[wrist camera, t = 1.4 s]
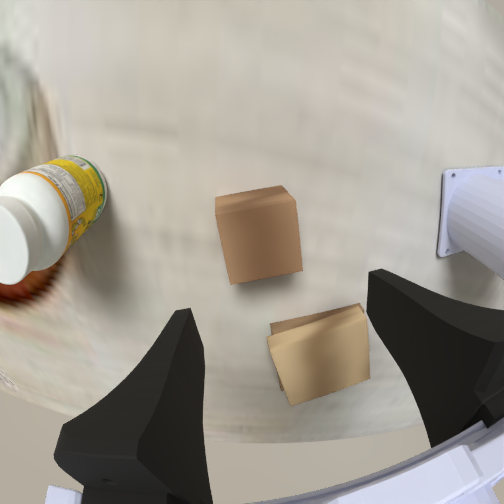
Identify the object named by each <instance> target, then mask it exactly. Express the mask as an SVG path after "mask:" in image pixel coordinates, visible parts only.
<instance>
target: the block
mask: <svg viewBox="0 0 504 504" xmlns="http://www.w3.org/2000/svg"><path fill="white" fill-rule="evenodd" d="M215 216H216V221H217V225H218V230H219V235H220V239H221V244H222V249H223V253H224V258H225V262H226V267H227V271H228V276H229V280H230V285H232V284H238V283H243V282H248V281H253V280H259V279H264V278H269V277H274V276H279V275H284V274H289V273H294V272H299V271H303V268H302V257H301V246H300V236H299V226H298V217H297V208H296V200H295V199H294V198H293V197H292V196H291V195H290V194H289V193H288V192H287V191H286V190H285V188H284V187H283V186H282V185H281V186H275V187H269V188H263V189H257V190H252V191H246V192H241V193H235V194H230V195H225V196H219V197H216V201H215Z"/></svg>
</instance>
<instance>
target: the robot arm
mask: <svg viewBox="0 0 504 504" xmlns="http://www.w3.org/2000/svg"><path fill="white" fill-rule="evenodd" d="M452 174H453V176H452ZM451 176H452V177H451ZM445 251H446V252H445ZM462 251H466V252H467V253H468V254H470V255H471V256H473V257H474V258H475V259H477V260H478V261H480V262H481V263H482V264H484V265H485V266H486V267H488V268H489V269H490V270H492V271H493V272H494V273H496V274H497V275H498V276H499V277H501V278H502V279H503V280H504V166H495V167H477V168H462V169H449V170H445V171H444V173H443V190H442V209H441V223H440V234H439V243H438V251H437V253H438V255H439V256H440V257H445V256H448V255H452V254H455V253H459V252H462ZM366 312H367V314H368V316H369V319H370V321H371V323H372V325H373V327H374V329H375V331H376V332H377V334H378V336H379V337H380V339H381V340H382V342H383V343H384V345H385V346H386V348H387V349H388V351H389V352H390V354H391V355H392V357H393V358H394V360H395V361H396V363H397V364H398V366H399V367H400V369H401V371H402V373H403V374H404V376H405V378H406V380H407V383H408V385H409V387H410V389H411V391H412V393H413V396H414V398H415V401H416V403H417V406H418V408H419V411H420V413H421V416H422V419H423V422H424V425H425V428H426V431H427V434H428V438H429V442H430V445H431V449H429V450H427V451H425V452H423V453H421V454H419V455H417V456H415V457H413V458H410V459H408V460H406V461H403V462H401V463H398V464H396V465H394V466H391V467H389V468H386V469H384V470H381V471H378V472H376V473H373V474H370V475H367V476H364V477H361V478H358V479H355V480H352V481H349V482H346V483H343V484H339V485H335V486H332V487H328V488H325V489H321V490H317V491H313V492H308V493H304V494H300V495H295V496H290V497H285V498H280V499H273V500H267V501H261V502H253V503H245V504H500V503H499V501H498V499H497V497H496V495H495V493H494V491H493V489H492V486H494V485H495V484H496V483H498V482H499V481H500V480H502V479H503V478H504V310H497V309H490V308H485V307H480V306H475V305H471V304H467V303H464V302H461V301H457V300H454V299H451V298H448V297H445V296H443V295H440V294H438V293H435V292H433V291H430V290H428V289H426V288H424V287H421V286H419V285H417V284H415V283H413V282H411V281H408V280H406V279H404V278H402V277H400V276H398V275H396V274H393V273H391V272H389V271H386V270H384V269H378V270H374V271H370V272H369V276H368V296H367V310H366ZM204 379H205V360H204V347H203V344H202V341H201V338H200V335H199V332H198V329H197V326H196V323H195V320H194V317H193V314H192V311H191V308H187V309H181V310H176V311H175V312H174V314H173V315H172V317H171V318H170V320H169V321H168V323H167V324H166V326H165V327H164V329H163V331H162V332H161V334H160V335H159V337H158V338H157V340H156V341H155V343H154V344H153V345H152V347H151V348H150V350H149V351H148V352H147V354H146V355H145V356H144V358H143V359H142V360H141V361H140V363H139V364H138V365H137V366H136V367H135V368H134V370H133V371H132V372H131V373H130V374H129V375H128V376H127V377H126V378H125V379H124V380H123V381H122V382H121V383H120V384H119V385H118V386H117V387H116V388H114V389H113V390H112V391H111V392H110V393H109V394H108V395H107V396H105V397H104V398H103V399H102V400H100V401H99V402H98V403H96V404H95V405H94V406H92V407H91V408H89V409H88V410H87V411H85V412H84V413H82V414H80V415H79V416H77V417H75V418H74V419H72V420H70V421H69V422H67V423H65V424H63V426H62V429H61V432H60V435H59V438H58V442H57V445H56V449H55V452H54V459H55V461H56V463H57V464H58V466H59V467H60V468H62V469H63V470H64V471H65V472H66V473H67V474H69V475H70V476H71V477H73V478H74V479H75V480H77V481H78V482H79V483H81V484H82V485H84V489H83V493H81V492H79V491H76V490H72V489H68V488H63V487H59V486H54V485H49V487H48V491H47V496H46V500H45V504H213V500H212V495H211V490H210V484H209V477H208V471H207V463H206V455H205V445H204V433H203V398H204Z"/></svg>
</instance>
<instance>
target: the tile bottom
mask: <svg viewBox="0 0 504 504" xmlns="http://www.w3.org/2000/svg"><path fill="white" fill-rule="evenodd" d="M357 306H359V308H360V309H361V311H362V312H363V314H364V309H363V308H362V306H361V305H360V303H358V304H354V305H350V306H346V307H342V308H338V309H334V310H330V311H325V312H321V313H317V314H312V315H308V316H303V317H299V318H294V319H290V320H285V321H280V322H275V323H270V326H271V332H272V335H274V334H278V333H281V332H284V331H287V330H291V329H294V328H297V327H300V326H303V325H306V324H309V323H312V322H315V321H318V320H321V319H324V318H327V317H330V316H333V315H335V314H338V313H341V312H344V311H347V310H349V309H352V308H355V307H357ZM278 377H279V374H278ZM279 383H280V388H281V391H283V390H284V387H283V385H282V382H281V379H280V377H279Z"/></svg>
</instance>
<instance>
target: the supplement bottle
mask: <svg viewBox="0 0 504 504" xmlns="http://www.w3.org/2000/svg"><path fill="white" fill-rule="evenodd" d="M106 199H107V186H106V182H105V179H104V176H103V174H102V172H101V171H100V169H99V168H98V166H97V165H96V164H95V163H93V162H92V161H91V160H89V159H88V158H86V157H83V156H80V155H67V156H64V157H60V158H57V159H55V160H52V161H50V162H47V163H44V164H42V165H39V166H37V167H34V168H31V169H28V170H26V171H23V172H21V173H19V174H16V175H14V176H12V177H10V178H9V179H7V180H6V181H5V182H4V183H3V184H2V185H1V186H0V283H3V284H16V283H18V282H20V281H21V280H22V279H23V278H24V277H25V276H26V275H27V274H28V273H30V272H31V271H38V270H43V269H46V268H48V267H50V266H52V265H53V264H54V263H55V262H57V261H58V260H59V259H60V257H61V256H62V255H63V254H64V253H65V252H66V251H67V250H68V249H69V248H70V247H71V246H72V245H73V244H74V243H75V241H76V240H77V239H78V238H79V237H80V236H81V235H82V234H83V233H84V232H85V231H86V230H87V229H88V228H89V227H90V226H91V225H92V224H93V223H94V222H95V221H96V220H97V219H98V218H99V216H100V215H101V213H102V211H103V208H104V206H105V203H106Z"/></svg>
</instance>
